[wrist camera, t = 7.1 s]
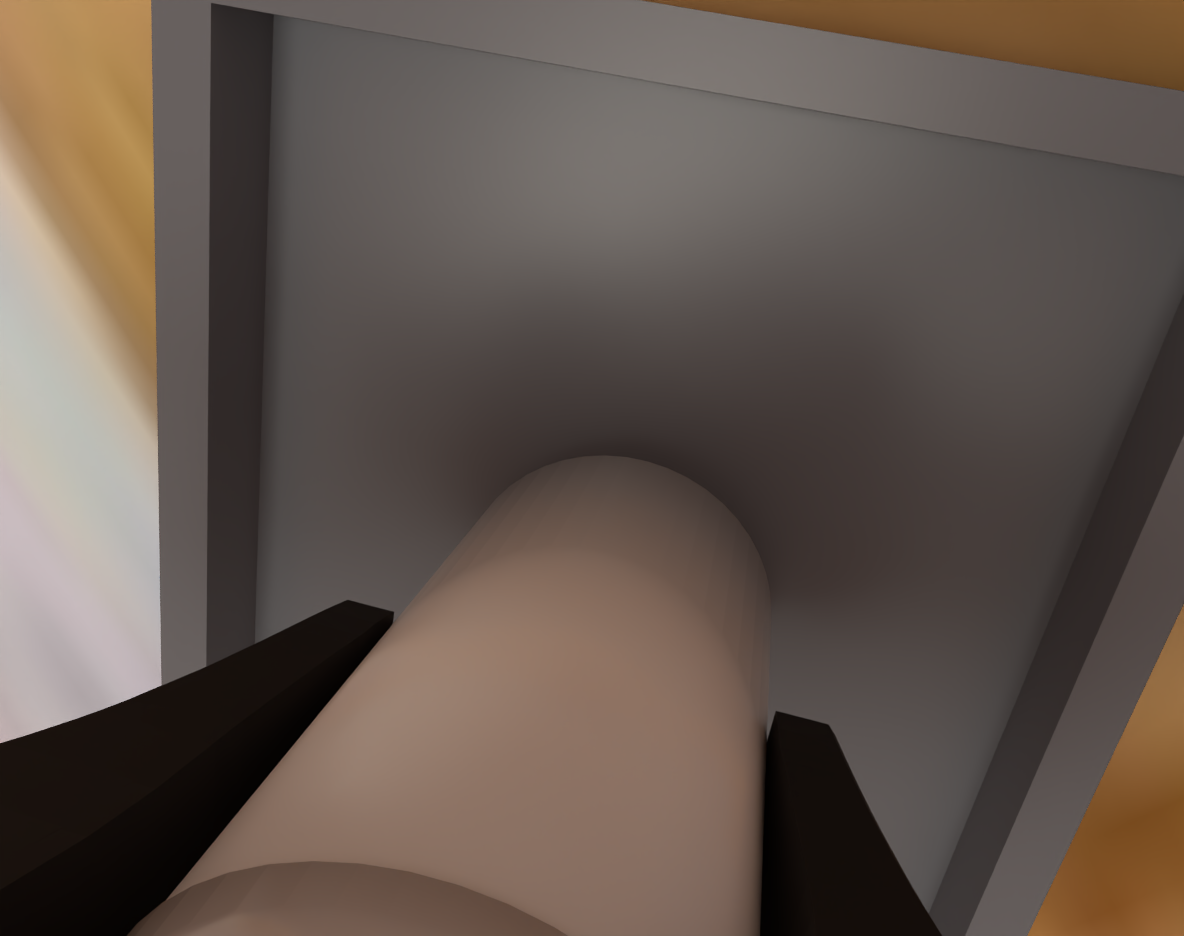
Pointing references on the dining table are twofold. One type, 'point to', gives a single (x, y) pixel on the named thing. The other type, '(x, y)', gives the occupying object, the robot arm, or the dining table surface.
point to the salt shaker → (529, 738)
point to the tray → (696, 359)
